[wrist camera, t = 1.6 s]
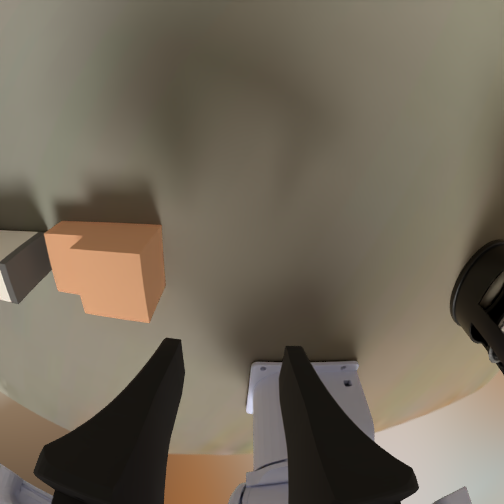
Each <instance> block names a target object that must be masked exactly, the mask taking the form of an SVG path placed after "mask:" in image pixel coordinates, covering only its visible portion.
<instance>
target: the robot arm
mask: <svg viewBox="0 0 504 504" xmlns="http://www.w3.org/2000/svg"><path fill="white" fill-rule="evenodd" d="M358 367H359V364H358V362H357V361H340V362H310V361H309V359H308V357H307V355H306V353H305V351H304V349H303V348H302V347H301V346H286V348H285V352H284V357H283V361H282V362H254V363H252V365H251V372H250V380H249V389H248V397H247V405H246V412H247V413H249V414H253V447H254V471H253V472H247V473H246V483H241V484H239V485H238V486H237V487H236V489H235V491H234V492H233V493H232V495H231V497H230V499H229V503H228V504H401V502H400V501H402V500H403V499H405V498H407V497H409V496H411V495H412V494H414V493H415V492H416V491H417V490H418V489H419V486H418V483H417V479H416V476H415V474H414V472H413V469H412V468H411V467H409V466H408V465H406V464H404V463H403V462H401V461H399V460H398V459H396V458H395V457H393V456H392V455H391V454H389V453H388V452H386V451H385V450H384V449H382V448H381V447H380V446H378V445H377V444H376V443H375V442H374V424H373V420H372V416H371V413H370V410H369V407H368V404H367V401H366V398H365V395H364V392H363V389H362V386H361V383H360V380H359V377H358V374H357V369H358ZM184 376H185V369H184V361H183V353H182V345H181V339H172V338H165V339H164V340H163V341H162V343H161V344H160V346H159V347H158V349H157V350H156V351H155V353H154V354H153V356H152V357H151V358H150V360H149V361H148V362H147V363H146V365H145V366H144V367H143V368H142V370H141V371H140V372H139V373H138V374H137V376H136V377H135V378H134V379H133V380H132V381H131V382H130V383H129V384H128V386H127V387H126V388H125V389H124V390H123V391H122V392H121V393H120V394H119V395H118V396H117V397H116V398H115V399H114V400H113V401H112V402H110V403H109V404H108V405H107V406H106V407H105V408H104V409H102V410H101V411H100V412H99V413H97V414H96V415H95V416H94V417H92V418H91V419H90V420H88V421H87V422H85V423H84V424H82V425H81V426H79V427H78V428H76V429H75V430H73V431H71V432H70V433H68V434H66V435H65V436H63V437H61V438H59V439H57V440H55V441H53V442H51V443H49V444H47V445H45V446H44V447H43V449H42V451H41V453H40V455H39V458H38V461H37V463H36V466H35V469H34V474H35V476H36V477H38V478H39V479H40V480H42V481H43V482H44V483H46V484H47V485H49V486H50V487H52V488H53V489H55V492H54V495H53V496H52V495H50V494H48V493H46V492H44V491H42V490H41V489H39V488H37V487H35V486H33V485H31V484H29V483H28V482H26V481H24V480H23V479H22V478H21V477H19V476H18V475H17V474H15V473H14V472H12V471H11V470H9V469H8V468H6V467H5V466H3V465H1V464H0V504H164V489H165V477H166V466H167V457H168V450H169V443H170V438H171V434H172V430H173V426H174V422H175V419H176V415H177V411H178V407H179V403H180V399H181V395H182V390H183V383H184ZM433 504H472V503H471V500H470V497H469V494H468V491H467V488H466V487H463V488H461V489H459V490H457V491H455V492H453V493H451V494H449V495H447V496H445V497H443V498H441V499H439V500H437V501H435V502H434V503H433Z"/></svg>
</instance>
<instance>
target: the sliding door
mask: <svg viewBox="0 0 504 504" xmlns="http://www.w3.org/2000/svg"><path fill="white" fill-rule="evenodd" d="M44 233H45V232H28V231H6V230H0V299H1V300H5V301H8V302H12V303H16V304H19V303H20V302H21V301H22V300H23V299H24V298H25V297H26V296H27V294H28V293H29V292H30V291H31V290H32V289H33V288H34V287H35V286H36V285H37V284H38V283H39V282H40V281H41V280H42V279H43V278H44V277H45V276H46V275H47V274H48V273H49V272H50V271H51V270H52V267H51V263H50V259H49V255H48V250H47V246H46V241H45V236H44Z"/></svg>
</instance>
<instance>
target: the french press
mask: <svg viewBox="0 0 504 504" xmlns="http://www.w3.org/2000/svg"><path fill="white" fill-rule="evenodd" d="M503 271H504V240H496V241H492V242H490V243H488V244H486V245H485V246H484V247H482V248H481V249H480V250H479V251H478V252H477V253H476V254H475V255H474V256H473V257H472V258H471V259H470V261H469V262H468V263H467V264H466V266H465V268H464V269H463V271H462V272H461V274H460V276H459V278H458V280H457V282H456V284H455V287H454V289H453V292H452V297H451V302H450V312H451V316H452V318H453V320H454V321H455V322H456V323H457V324H458V325H459V326H461V327H462V328H463V329H464V331H465V332H466V333H467V335H468V336H469V337H470V339H471V340H472V341H473V342H475V343H482V344H483V346H484V347H485V348H486V350H487V351H488V354H489V360H490V361H491V362H492V363H496V364H497V365H498V367H499V368H500V370H501V371H502V373H503V374H504V288H503V290H502V292H501V294H500V295H499V297H498V298H497V299H496V301H495V302H494V303H493V304H492V305H491V306H490V307H489V308H488V309H487V310H484V309H483V308H482V307H481V306H480V305H479V303H480V302H481V300H482V298H483V296H484V295H485V293H486V292H487V290H488V289H489V287H490V286H491V284H492V283H493V282H494V281H495V279H496V278H497V277H498V276H499V275H500V274H501V273H502V272H503Z"/></svg>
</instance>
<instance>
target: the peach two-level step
mask: <svg viewBox="0 0 504 504" xmlns="http://www.w3.org/2000/svg"><path fill="white" fill-rule="evenodd" d="M44 236H45V241H46V246H47V250H48V255H49V259H50V263H51V267H52V271H53V275H54V278H55V282H56V285H57V289H58V291H61V292H67V293H73V294H79V295H80V296H81V300H82V303H83V307H84V310H85V313H87V314H93V315H99V316H105V317H111V318H117V319H124V320H131V321H138V322H146V323H150V321H151V318H152V316H153V313H154V311H155V309H156V306H157V304H158V302H159V300H160V297H161V295H162V293H163V291H164V288H165V286H166V283H165V272H164V259H163V243H162V225H154V224H133V223H109V222H80V221H61V222H59V223H58V224H56V225H55V226H54V227H52V228H51V229H49V230H48V231H47V232H45V233H44Z"/></svg>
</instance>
